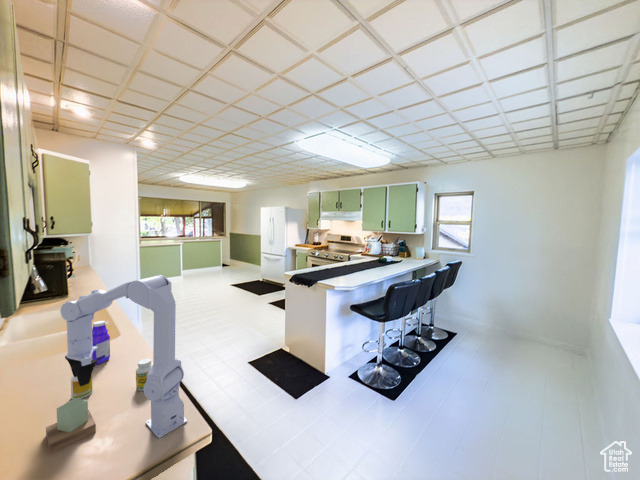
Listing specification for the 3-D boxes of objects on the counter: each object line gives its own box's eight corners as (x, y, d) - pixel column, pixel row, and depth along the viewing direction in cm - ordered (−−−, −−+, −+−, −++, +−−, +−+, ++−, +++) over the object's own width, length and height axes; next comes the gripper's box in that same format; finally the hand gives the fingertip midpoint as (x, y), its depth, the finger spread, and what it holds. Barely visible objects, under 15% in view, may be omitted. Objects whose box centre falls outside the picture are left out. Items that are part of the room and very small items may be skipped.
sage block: (88, 420, 74) (87, 400, 73) (70, 432, 69) (69, 411, 69) (75, 417, 75) (75, 398, 74) (57, 429, 70) (56, 408, 70)
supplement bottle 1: (95, 392, 90) (95, 365, 89) (76, 401, 85) (75, 373, 85) (87, 388, 92) (87, 362, 92) (68, 397, 87) (67, 369, 87)
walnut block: (95, 434, 73) (95, 423, 72) (50, 455, 66) (49, 444, 65) (89, 419, 78) (88, 409, 78) (46, 437, 71) (45, 427, 71)
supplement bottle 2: (153, 380, 97) (153, 356, 97) (154, 388, 93) (153, 362, 92) (136, 385, 94) (136, 360, 94) (135, 393, 90) (135, 366, 89)
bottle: (102, 357, 114) (101, 318, 113) (113, 358, 113) (112, 319, 113) (85, 365, 107) (84, 324, 106) (97, 366, 106) (96, 325, 105)
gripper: (103, 339, 78) (104, 382, 79) (90, 327, 87) (91, 366, 87) (71, 347, 73) (73, 394, 73) (61, 334, 81) (63, 376, 82)
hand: (81, 379), depth 80 cm, fingers open, 7 cm apart
